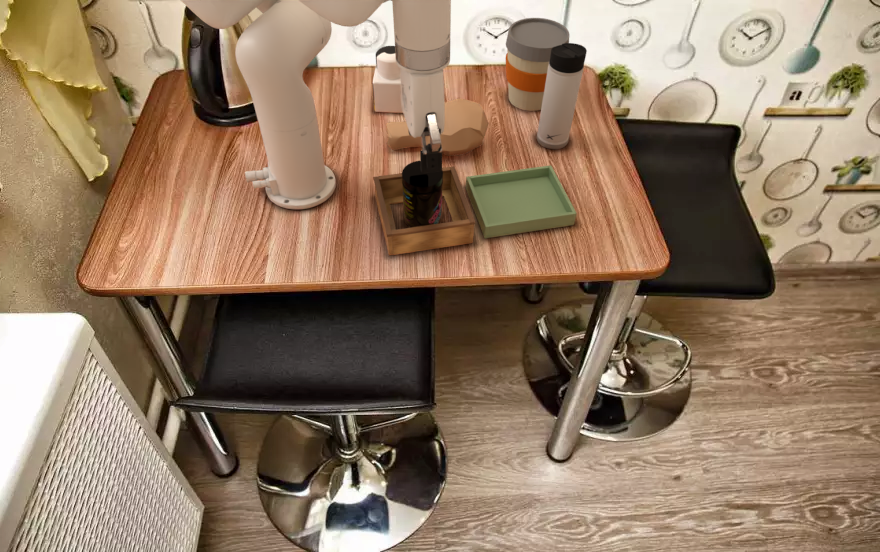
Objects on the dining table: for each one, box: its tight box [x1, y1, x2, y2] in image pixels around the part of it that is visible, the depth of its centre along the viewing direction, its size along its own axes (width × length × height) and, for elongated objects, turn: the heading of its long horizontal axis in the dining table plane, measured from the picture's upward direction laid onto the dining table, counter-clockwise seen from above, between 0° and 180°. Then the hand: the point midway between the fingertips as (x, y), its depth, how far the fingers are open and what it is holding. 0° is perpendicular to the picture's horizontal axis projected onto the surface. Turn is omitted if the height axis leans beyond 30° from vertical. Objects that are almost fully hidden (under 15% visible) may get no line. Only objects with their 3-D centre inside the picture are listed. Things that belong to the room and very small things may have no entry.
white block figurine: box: [372, 45, 403, 114], centre depth 127 cm, size 7×7×12 cm
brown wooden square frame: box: [372, 166, 476, 256], centre depth 107 cm, size 15×15×5 cm
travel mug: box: [536, 42, 588, 150], centre depth 117 cm, size 6×7×20 cm
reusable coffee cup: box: [505, 17, 570, 112], centre depth 128 cm, size 13×12×15 cm
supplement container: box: [401, 160, 443, 228], centre depth 105 cm, size 7×7×10 cm
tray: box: [465, 164, 578, 239], centre depth 111 cm, size 16×13×3 cm
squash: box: [385, 98, 490, 157], centre depth 120 cm, size 11×20×9 cm, turn 94°
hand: (424, 151), depth 98 cm, fingers open, 9 cm apart
